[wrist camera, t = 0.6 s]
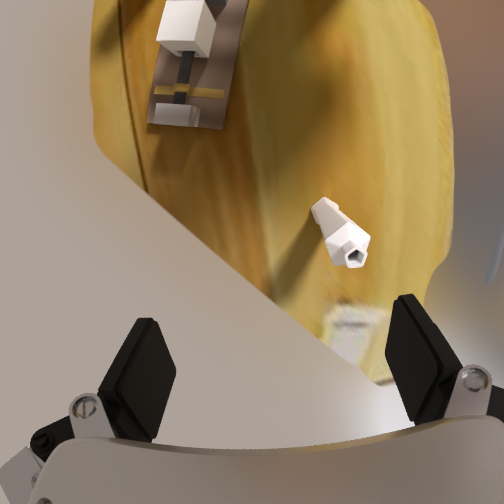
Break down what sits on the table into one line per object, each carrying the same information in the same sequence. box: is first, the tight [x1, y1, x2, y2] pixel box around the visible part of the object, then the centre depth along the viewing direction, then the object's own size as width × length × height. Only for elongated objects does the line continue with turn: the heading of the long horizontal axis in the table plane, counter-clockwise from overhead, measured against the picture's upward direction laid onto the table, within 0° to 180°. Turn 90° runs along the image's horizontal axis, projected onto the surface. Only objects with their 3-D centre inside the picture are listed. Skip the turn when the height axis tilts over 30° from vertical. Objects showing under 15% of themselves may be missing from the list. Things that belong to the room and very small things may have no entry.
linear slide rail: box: [146, 0, 249, 130], centre depth 27 cm, size 20×10×6 cm, turn 170°
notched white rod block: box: [156, 0, 216, 58], centre depth 24 cm, size 5×4×8 cm
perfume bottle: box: [311, 197, 370, 268], centre depth 31 cm, size 5×4×15 cm
